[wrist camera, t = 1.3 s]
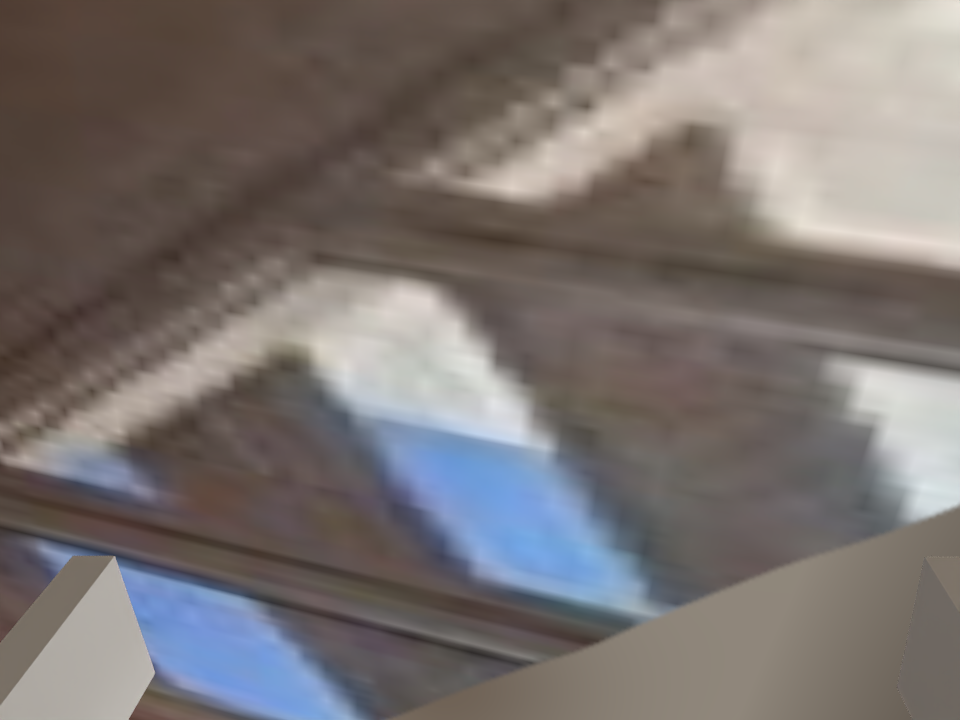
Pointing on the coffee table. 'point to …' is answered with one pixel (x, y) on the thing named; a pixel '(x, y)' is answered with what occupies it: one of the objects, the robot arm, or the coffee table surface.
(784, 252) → the coffee table surface
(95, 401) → the coffee table surface
